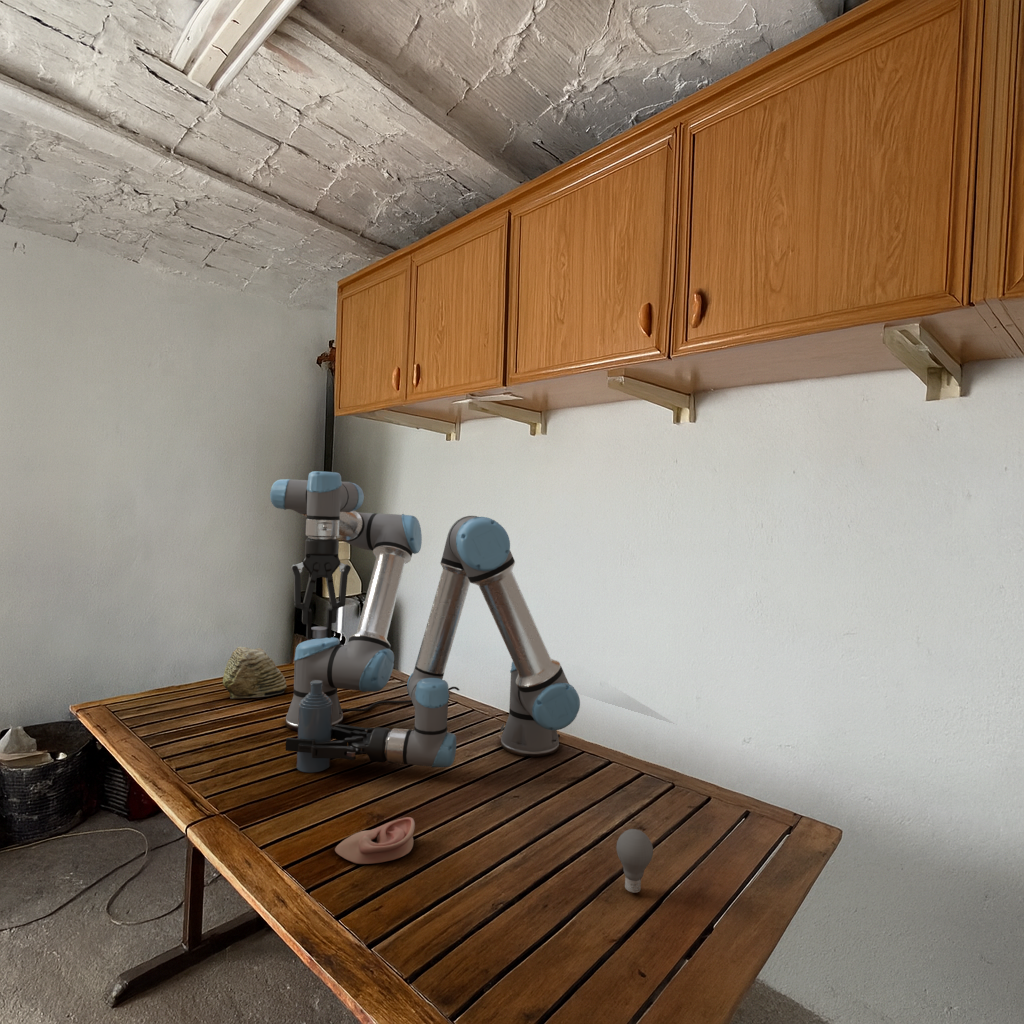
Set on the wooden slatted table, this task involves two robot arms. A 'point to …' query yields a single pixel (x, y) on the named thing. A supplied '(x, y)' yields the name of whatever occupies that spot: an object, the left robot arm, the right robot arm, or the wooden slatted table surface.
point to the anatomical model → (379, 843)
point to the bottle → (314, 726)
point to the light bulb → (634, 857)
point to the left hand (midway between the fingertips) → (318, 637)
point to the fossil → (252, 674)
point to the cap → (319, 632)
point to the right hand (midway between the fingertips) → (294, 737)
